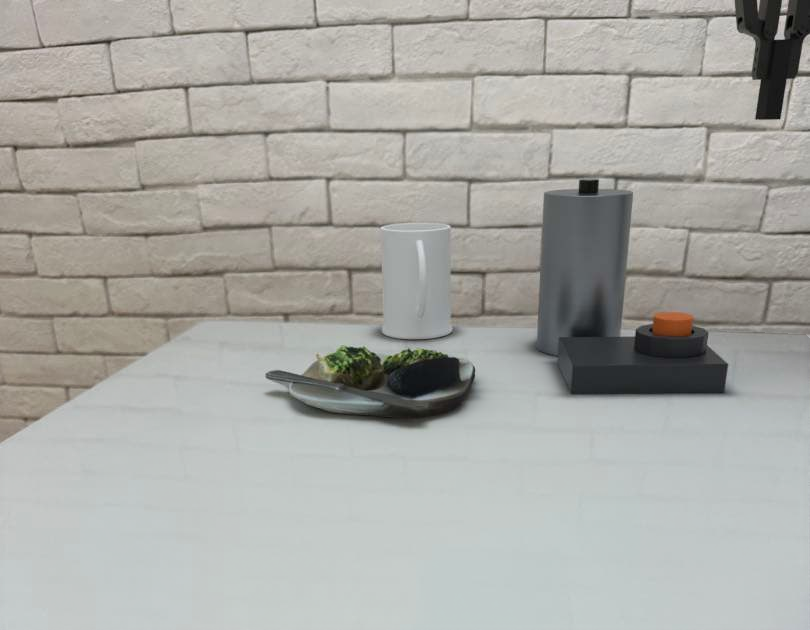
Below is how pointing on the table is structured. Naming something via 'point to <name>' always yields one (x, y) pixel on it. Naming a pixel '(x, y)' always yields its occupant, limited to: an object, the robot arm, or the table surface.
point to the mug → (416, 280)
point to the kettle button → (672, 324)
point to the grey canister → (582, 263)
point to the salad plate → (382, 382)
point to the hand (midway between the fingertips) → (767, 119)
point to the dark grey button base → (642, 363)
